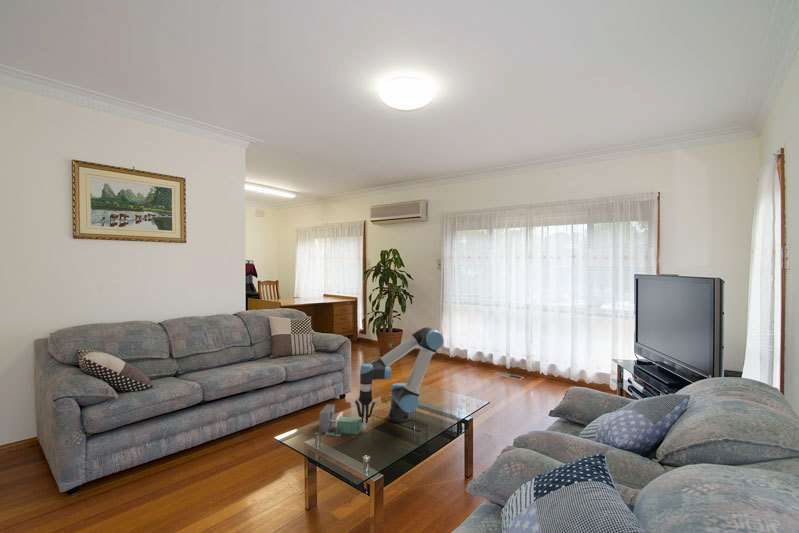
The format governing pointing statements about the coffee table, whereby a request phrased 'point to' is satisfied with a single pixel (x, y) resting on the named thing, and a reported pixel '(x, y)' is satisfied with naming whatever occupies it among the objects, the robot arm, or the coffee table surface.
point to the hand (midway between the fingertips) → (364, 428)
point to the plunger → (336, 422)
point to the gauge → (327, 420)
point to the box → (349, 425)
